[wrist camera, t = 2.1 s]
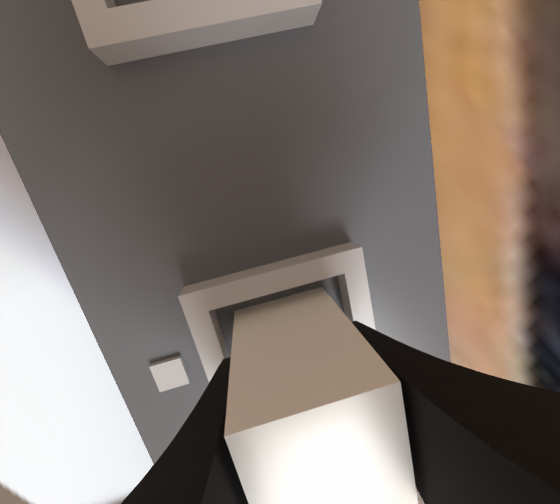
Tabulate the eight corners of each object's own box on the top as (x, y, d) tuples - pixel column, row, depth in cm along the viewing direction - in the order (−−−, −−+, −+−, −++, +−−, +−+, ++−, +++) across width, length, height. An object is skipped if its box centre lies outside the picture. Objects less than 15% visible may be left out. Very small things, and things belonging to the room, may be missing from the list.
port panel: (376, -337, 7) (409, -467, 6) (444, 380, 13) (470, 403, 12) (-176, -282, 6) (-303, -426, 5) (164, 468, 12) (153, 506, 11)
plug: (321, 286, 11) (400, 381, 5) (339, 369, 12) (420, 520, 6) (234, 310, 10) (223, 436, 5) (260, 393, 11) (273, 572, 6)
